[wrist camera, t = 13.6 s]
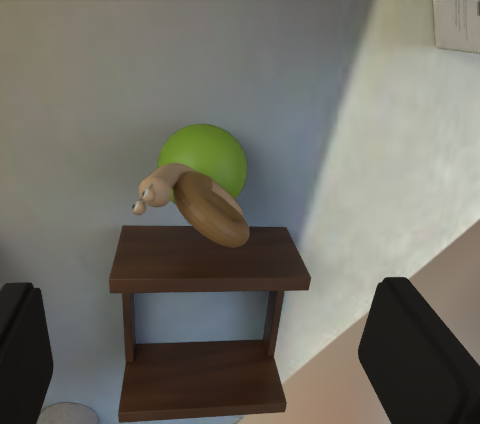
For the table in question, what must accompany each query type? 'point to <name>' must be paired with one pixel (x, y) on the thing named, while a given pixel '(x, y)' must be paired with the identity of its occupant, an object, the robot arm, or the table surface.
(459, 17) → the ink cartridge box
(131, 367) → the frame
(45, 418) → the house plant
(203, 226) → the snail figurine
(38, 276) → the table surface
